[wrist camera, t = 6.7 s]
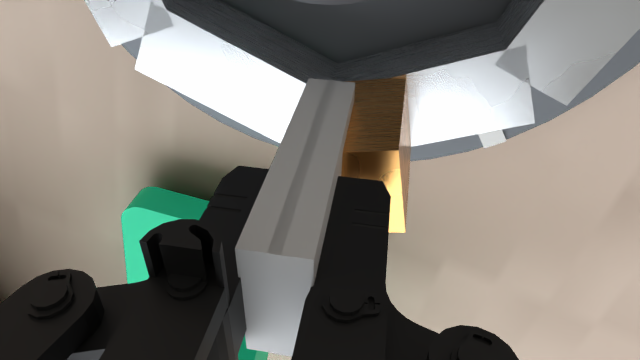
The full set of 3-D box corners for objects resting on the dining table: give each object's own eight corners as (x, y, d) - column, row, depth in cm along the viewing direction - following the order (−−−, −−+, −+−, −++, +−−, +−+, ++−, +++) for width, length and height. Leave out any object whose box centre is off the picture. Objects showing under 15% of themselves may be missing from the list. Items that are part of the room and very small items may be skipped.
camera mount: (148, 168, 23) (-10, 353, 15) (300, 209, 23) (226, 421, 14) (155, 317, 30) (52, 496, 22) (270, 350, 30) (209, 544, 22)
